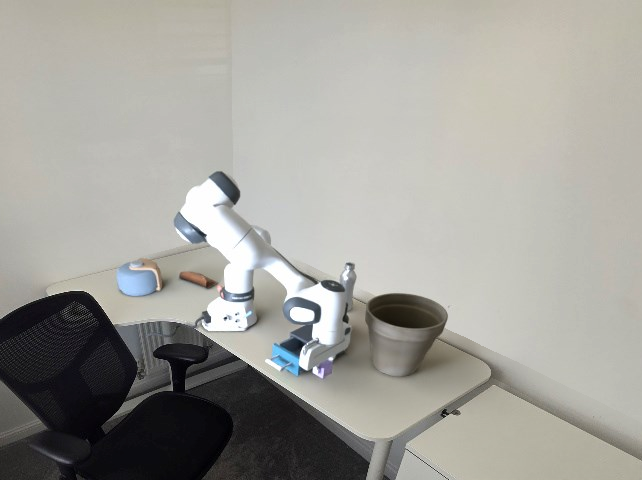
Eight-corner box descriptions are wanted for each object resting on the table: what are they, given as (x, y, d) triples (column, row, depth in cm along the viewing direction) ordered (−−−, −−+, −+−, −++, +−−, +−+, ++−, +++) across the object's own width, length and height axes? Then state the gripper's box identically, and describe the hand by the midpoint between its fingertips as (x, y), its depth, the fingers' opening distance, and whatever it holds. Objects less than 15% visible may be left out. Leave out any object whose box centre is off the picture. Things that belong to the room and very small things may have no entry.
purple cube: (322, 378, 140) (324, 368, 137) (312, 372, 142) (313, 362, 140) (331, 373, 142) (333, 363, 140) (321, 367, 145) (322, 357, 142)
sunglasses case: (218, 282, 206) (213, 273, 201) (210, 293, 204) (204, 284, 199) (190, 272, 215) (185, 263, 210) (183, 283, 213) (176, 275, 208)
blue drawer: (285, 383, 142) (286, 366, 138) (259, 366, 150) (260, 350, 146) (324, 361, 152) (326, 344, 148) (299, 346, 160) (300, 330, 156)
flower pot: (343, 366, 151) (351, 310, 138) (377, 338, 166) (388, 285, 153) (411, 396, 138) (428, 337, 125) (442, 362, 152) (460, 307, 139)
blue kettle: (169, 289, 202) (166, 264, 194) (128, 300, 193) (123, 275, 185) (151, 275, 214) (148, 251, 207) (112, 285, 205) (107, 260, 198)
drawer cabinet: (316, 369, 150) (319, 348, 145) (288, 352, 158) (289, 332, 153) (344, 353, 157) (347, 333, 152) (315, 338, 166) (317, 318, 161)
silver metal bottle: (352, 313, 182) (359, 267, 170) (335, 312, 183) (341, 266, 171) (352, 306, 187) (359, 261, 175) (336, 305, 188) (341, 260, 176)
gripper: (311, 349, 126) (308, 386, 134) (355, 325, 136) (350, 361, 144) (295, 340, 129) (293, 377, 138) (340, 317, 140) (335, 353, 148)
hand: (322, 369), depth 141 cm, fingers closed on purple cube, 4 cm apart
